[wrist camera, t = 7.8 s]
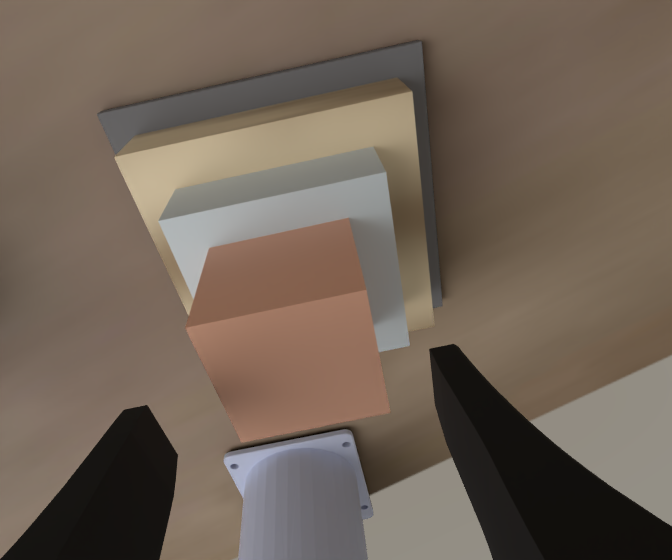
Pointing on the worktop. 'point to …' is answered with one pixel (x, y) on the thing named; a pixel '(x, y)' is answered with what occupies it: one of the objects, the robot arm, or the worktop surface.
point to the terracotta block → (288, 331)
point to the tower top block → (298, 222)
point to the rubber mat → (289, 87)
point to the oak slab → (289, 148)
